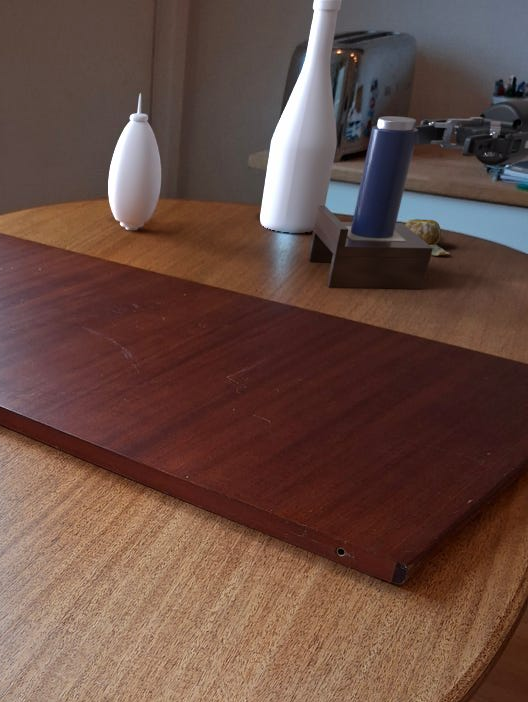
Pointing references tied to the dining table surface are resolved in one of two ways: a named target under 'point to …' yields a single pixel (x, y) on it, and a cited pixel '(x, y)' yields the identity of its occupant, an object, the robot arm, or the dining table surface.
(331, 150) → the wine bottle
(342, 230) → the shoe shelf
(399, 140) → the navy blue cylinder
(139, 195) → the air blower bulb
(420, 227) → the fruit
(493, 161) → the robot arm
